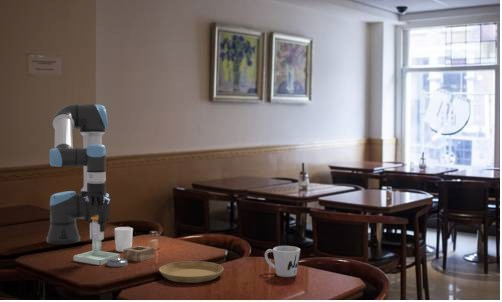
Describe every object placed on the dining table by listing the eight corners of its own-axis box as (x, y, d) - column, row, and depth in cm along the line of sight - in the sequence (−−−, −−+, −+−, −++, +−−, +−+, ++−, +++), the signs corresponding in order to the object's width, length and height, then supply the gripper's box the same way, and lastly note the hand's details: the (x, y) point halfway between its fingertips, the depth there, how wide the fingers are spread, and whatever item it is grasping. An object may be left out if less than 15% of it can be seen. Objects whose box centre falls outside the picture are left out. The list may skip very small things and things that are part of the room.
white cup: (128, 253, 272) (128, 230, 271) (111, 252, 273) (111, 229, 272) (135, 249, 279) (135, 227, 279) (119, 248, 281) (118, 226, 280)
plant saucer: (184, 265, 252) (184, 257, 252) (235, 274, 240) (235, 265, 240) (145, 279, 231) (145, 270, 231) (199, 289, 219) (199, 279, 219)
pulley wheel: (103, 266, 248) (102, 259, 248) (116, 262, 255) (116, 255, 255) (118, 269, 244) (118, 262, 244) (131, 264, 251) (131, 258, 251)
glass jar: (88, 250, 256) (88, 216, 255) (96, 248, 260) (96, 215, 259) (97, 252, 254) (97, 217, 253) (104, 249, 258) (104, 216, 257)
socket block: (123, 260, 259) (123, 249, 259) (137, 255, 267) (137, 245, 267) (140, 262, 255) (140, 251, 255) (154, 258, 263) (154, 247, 263)
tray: (73, 261, 255) (73, 255, 255) (94, 255, 266) (94, 250, 266) (100, 266, 249) (100, 260, 249) (120, 259, 259) (120, 254, 259)
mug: (291, 279, 232) (292, 253, 231) (257, 273, 240) (257, 248, 239) (304, 273, 241) (305, 247, 240) (271, 268, 248) (271, 243, 248)
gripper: (74, 182, 256) (75, 238, 257) (105, 184, 248) (106, 242, 249) (87, 180, 262) (87, 235, 264) (118, 182, 255) (118, 239, 256)
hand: (96, 238), depth 257 cm, fingers closed on glass jar, 3 cm apart
